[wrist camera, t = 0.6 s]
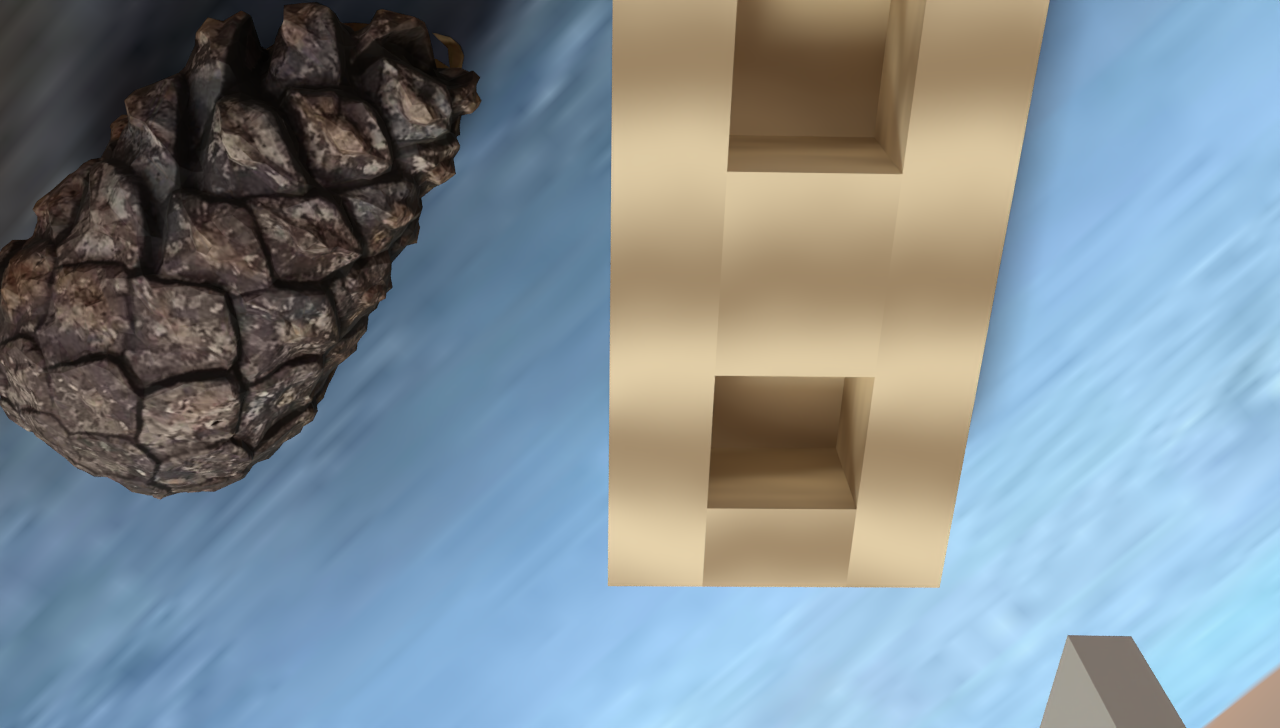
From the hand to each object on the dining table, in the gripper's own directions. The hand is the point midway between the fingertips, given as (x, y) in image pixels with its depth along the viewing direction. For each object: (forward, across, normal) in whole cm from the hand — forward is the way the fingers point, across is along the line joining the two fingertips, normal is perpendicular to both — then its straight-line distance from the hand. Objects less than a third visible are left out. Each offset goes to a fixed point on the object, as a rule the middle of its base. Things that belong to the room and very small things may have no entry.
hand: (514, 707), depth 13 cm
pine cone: (+26, -11, -3) cm, 29 cm away
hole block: (+26, +7, -4) cm, 27 cm away
